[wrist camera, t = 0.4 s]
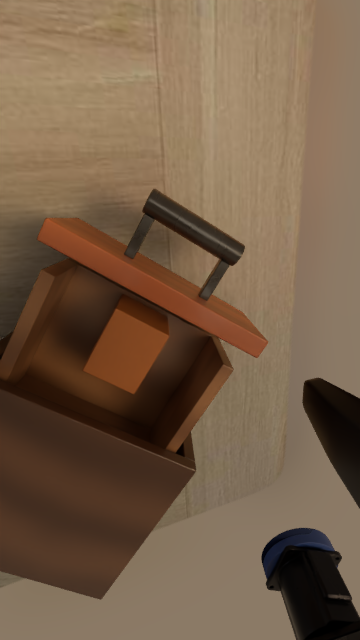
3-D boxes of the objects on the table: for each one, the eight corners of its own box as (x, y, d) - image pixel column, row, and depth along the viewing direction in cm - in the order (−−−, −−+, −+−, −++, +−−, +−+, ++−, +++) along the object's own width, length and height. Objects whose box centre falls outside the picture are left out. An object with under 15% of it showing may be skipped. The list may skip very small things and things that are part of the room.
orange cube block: (122, 293, 20) (115, 308, 17) (168, 317, 21) (170, 336, 18) (93, 346, 22) (81, 371, 18) (138, 368, 22) (134, 395, 19)
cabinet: (22, 323, 23) (-42, 372, 16) (186, 400, 26) (196, 471, 19) (-36, 451, 26) (-111, 540, 19) (115, 506, 29) (101, 600, 22)
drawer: (103, 160, 19) (79, 137, 13) (272, 267, 22) (311, 283, 16) (8, 366, 23) (-40, 413, 17) (161, 433, 26) (162, 491, 20)
